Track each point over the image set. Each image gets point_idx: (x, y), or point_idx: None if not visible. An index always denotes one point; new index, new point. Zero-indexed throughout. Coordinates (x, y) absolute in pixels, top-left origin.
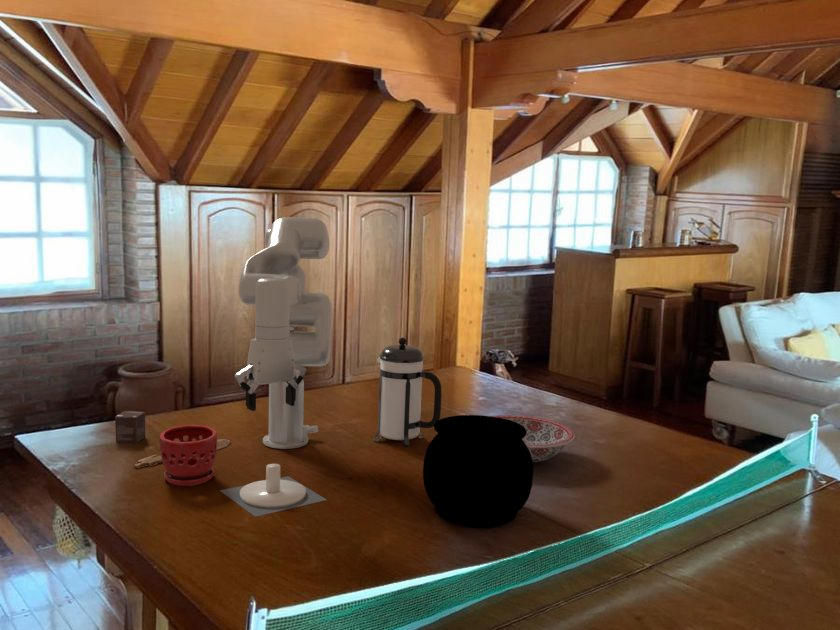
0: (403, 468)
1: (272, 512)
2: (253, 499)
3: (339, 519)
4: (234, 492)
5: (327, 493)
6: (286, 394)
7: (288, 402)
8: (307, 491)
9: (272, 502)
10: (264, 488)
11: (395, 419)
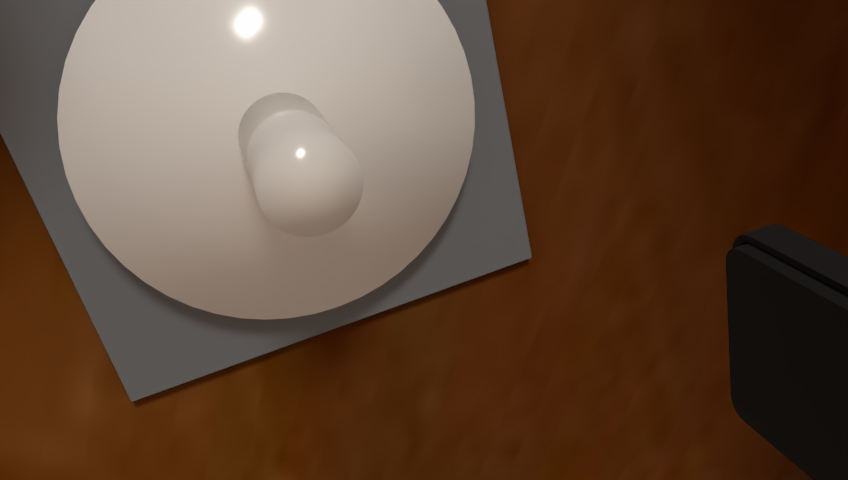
0: None
1: (229, 365)
2: (140, 243)
3: (503, 445)
4: (25, 16)
5: (569, 149)
6: (844, 338)
7: (749, 344)
8: (480, 122)
9: (245, 306)
10: (236, 79)
11: None
